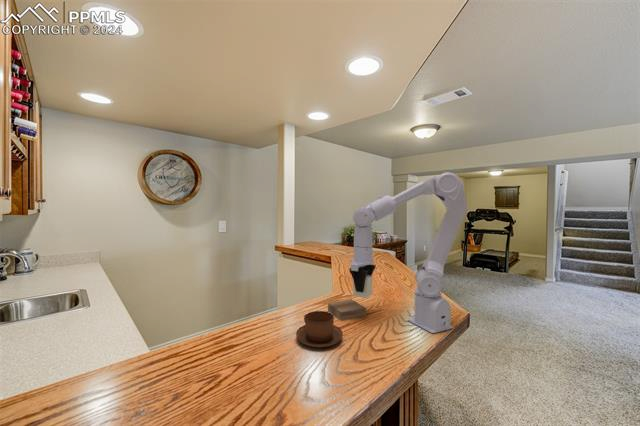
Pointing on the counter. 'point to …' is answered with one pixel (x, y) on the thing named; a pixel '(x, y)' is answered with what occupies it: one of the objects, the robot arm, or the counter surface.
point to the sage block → (367, 288)
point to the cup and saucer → (319, 330)
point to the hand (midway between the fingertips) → (362, 289)
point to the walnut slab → (346, 309)
